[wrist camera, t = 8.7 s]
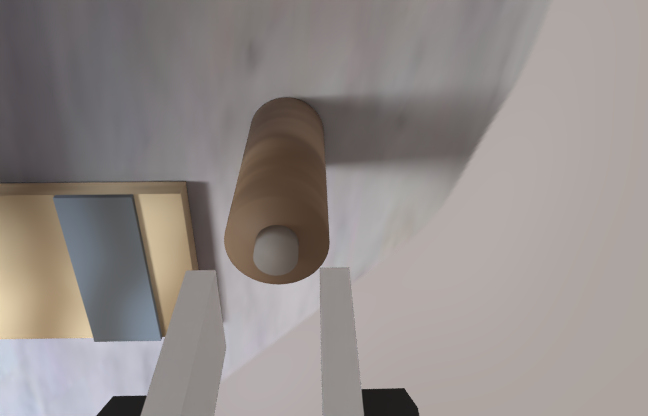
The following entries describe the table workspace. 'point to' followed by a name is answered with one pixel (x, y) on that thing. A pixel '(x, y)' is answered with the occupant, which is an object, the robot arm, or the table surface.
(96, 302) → the flat metallic slab
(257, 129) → the brown wooden cylinder
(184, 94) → the table surface
